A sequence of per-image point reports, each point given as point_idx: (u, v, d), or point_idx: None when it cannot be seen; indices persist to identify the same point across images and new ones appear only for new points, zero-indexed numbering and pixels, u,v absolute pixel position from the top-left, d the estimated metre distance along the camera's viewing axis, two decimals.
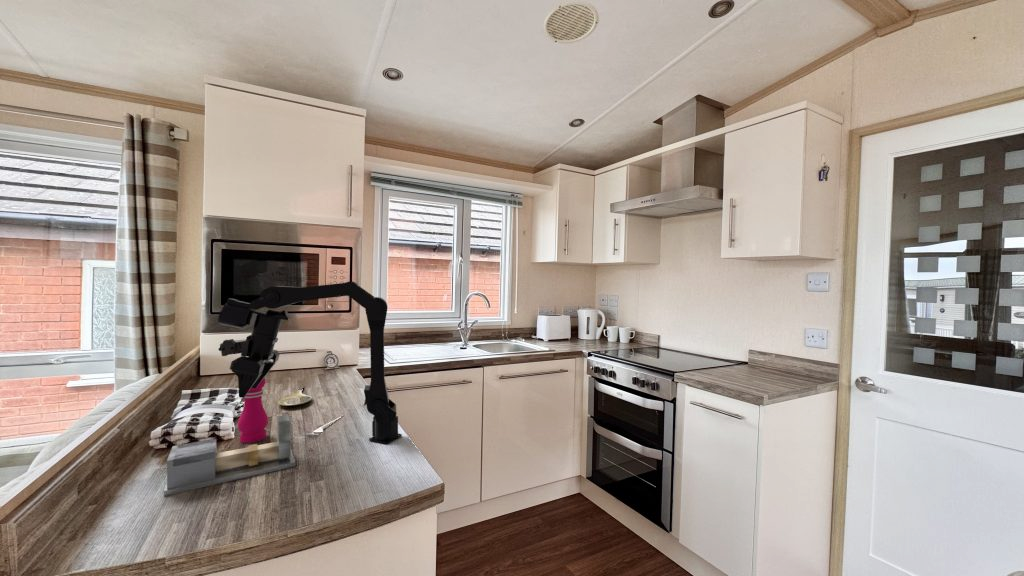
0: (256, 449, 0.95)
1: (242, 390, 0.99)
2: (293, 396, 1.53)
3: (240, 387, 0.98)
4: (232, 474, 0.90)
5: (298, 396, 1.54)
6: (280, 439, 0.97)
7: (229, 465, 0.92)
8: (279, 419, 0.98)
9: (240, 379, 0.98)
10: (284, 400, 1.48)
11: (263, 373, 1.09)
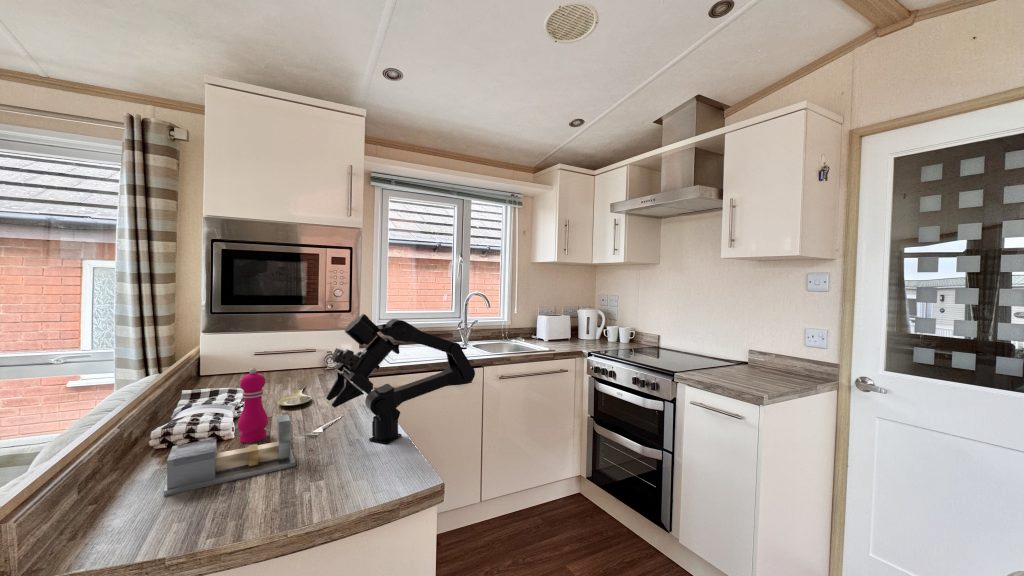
0: (256, 449, 0.95)
1: (339, 401, 1.02)
2: (293, 396, 1.53)
3: (339, 397, 1.02)
4: (232, 474, 0.90)
5: (298, 396, 1.54)
6: (280, 439, 0.97)
7: (229, 465, 0.92)
8: (279, 419, 0.98)
9: (345, 390, 1.02)
10: (284, 400, 1.48)
11: None
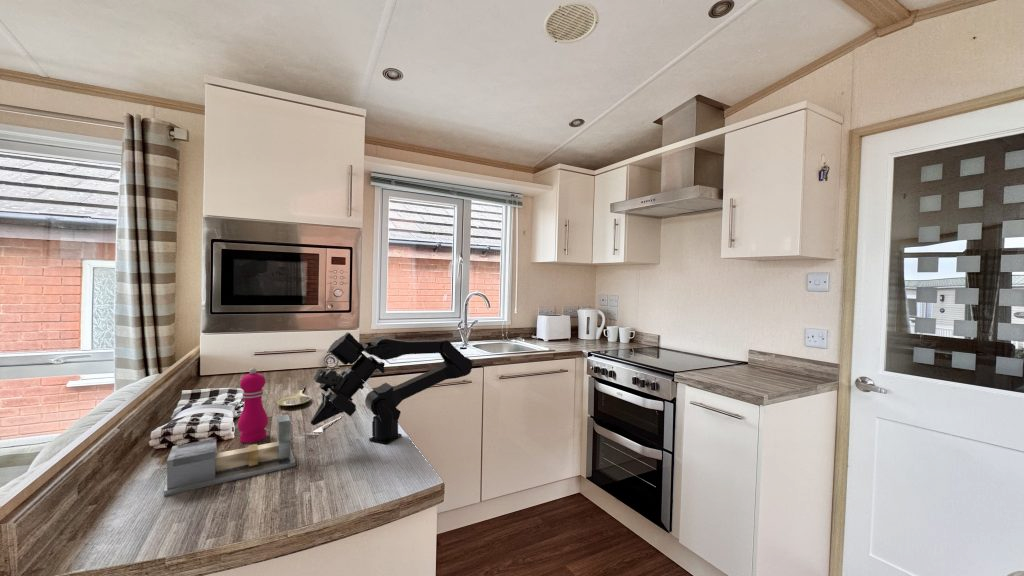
0: (256, 449, 0.95)
1: (318, 418, 1.03)
2: (293, 396, 1.53)
3: (318, 415, 1.03)
4: (232, 474, 0.90)
5: (298, 396, 1.54)
6: (280, 439, 0.97)
7: (229, 465, 0.92)
8: (279, 419, 0.98)
9: (324, 408, 1.03)
10: (284, 400, 1.48)
11: None
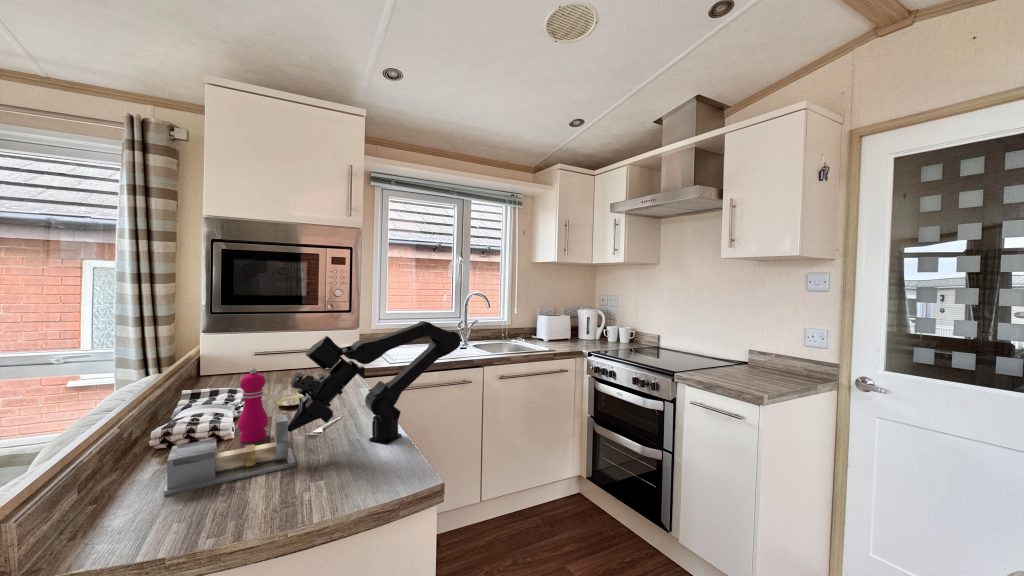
0: (253, 450, 0.95)
1: (294, 425, 1.00)
2: (293, 396, 1.53)
3: (295, 421, 1.00)
4: (232, 474, 0.90)
5: (298, 396, 1.54)
6: (277, 439, 0.97)
7: (226, 466, 0.92)
8: (276, 419, 0.98)
9: (301, 414, 1.00)
10: (283, 400, 1.48)
11: None
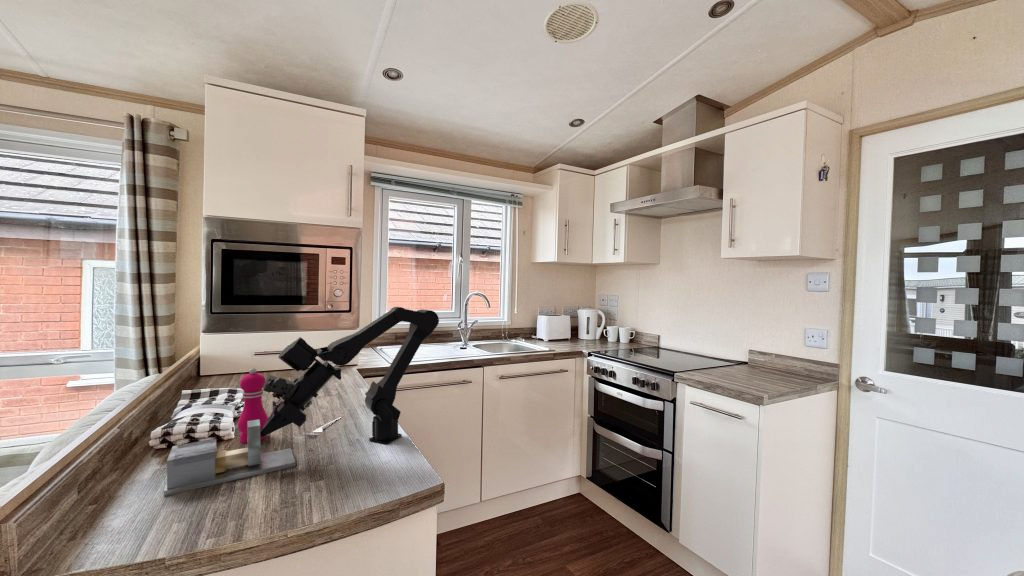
0: (224, 455, 0.91)
1: (267, 429, 0.97)
2: None
3: (267, 426, 0.97)
4: (232, 474, 0.90)
5: None
6: (249, 445, 0.93)
7: None
8: (249, 424, 0.95)
9: (274, 418, 0.97)
10: None
11: None
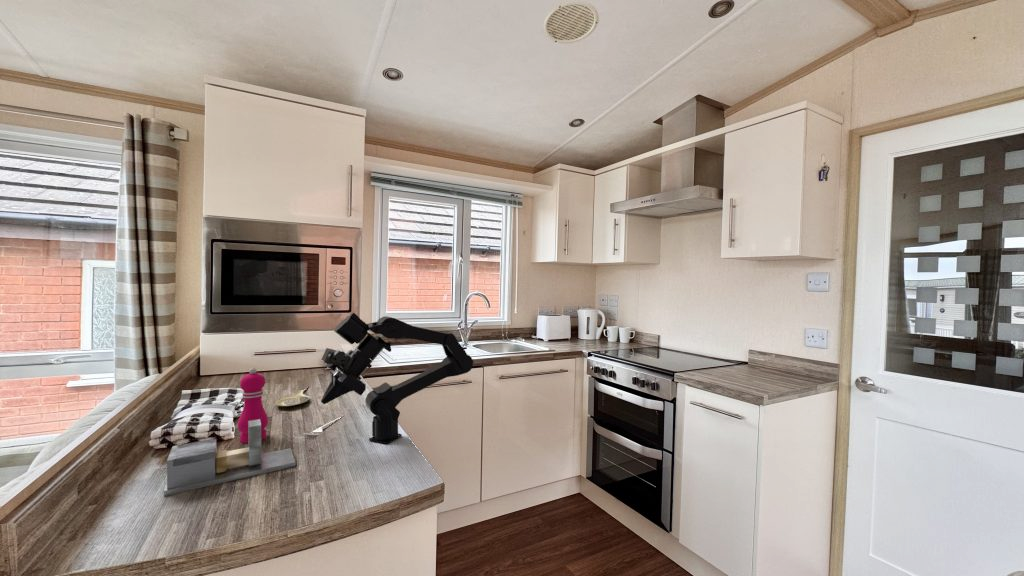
0: (225, 455, 0.91)
1: (328, 397, 1.05)
2: (293, 396, 1.53)
3: (328, 394, 1.05)
4: (232, 474, 0.90)
5: (298, 396, 1.53)
6: (250, 445, 0.94)
7: None
8: (250, 424, 0.95)
9: (334, 387, 1.05)
10: (283, 400, 1.48)
11: None
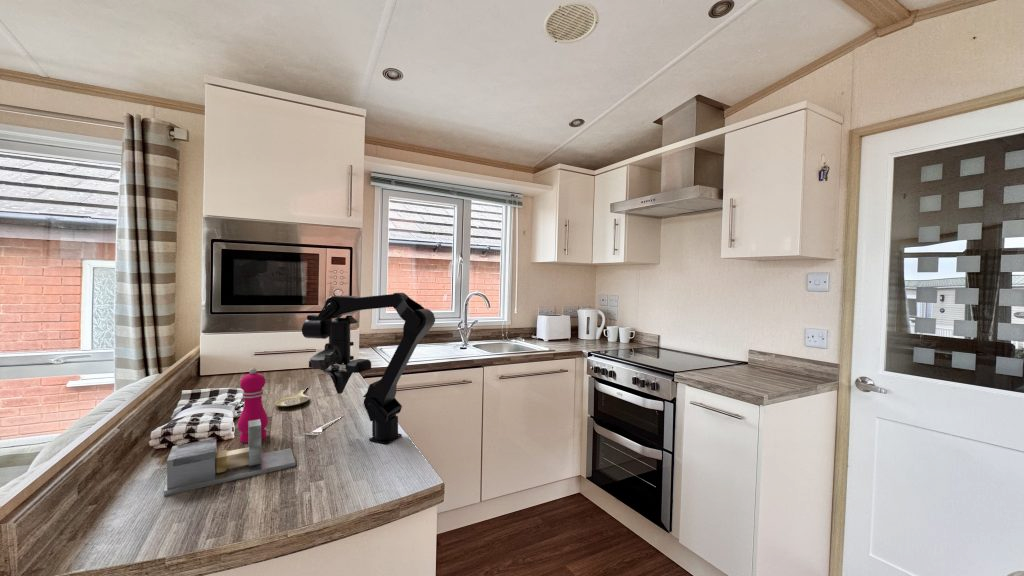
0: (225, 455, 0.91)
1: (342, 387, 1.16)
2: (293, 396, 1.53)
3: (341, 385, 1.15)
4: (232, 474, 0.90)
5: (298, 396, 1.53)
6: (250, 445, 0.94)
7: None
8: (250, 424, 0.95)
9: (341, 378, 1.15)
10: (282, 400, 1.48)
11: None
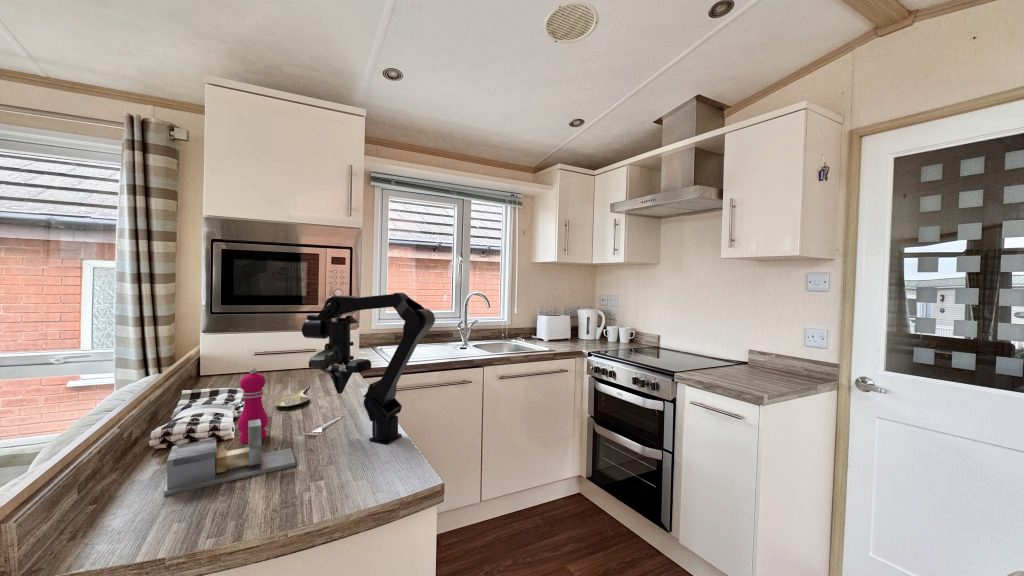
0: (225, 455, 0.91)
1: (342, 387, 1.16)
2: (293, 396, 1.53)
3: (341, 385, 1.15)
4: (232, 474, 0.90)
5: (298, 396, 1.53)
6: (250, 445, 0.94)
7: None
8: (250, 424, 0.95)
9: (341, 378, 1.15)
10: (282, 400, 1.48)
11: None
